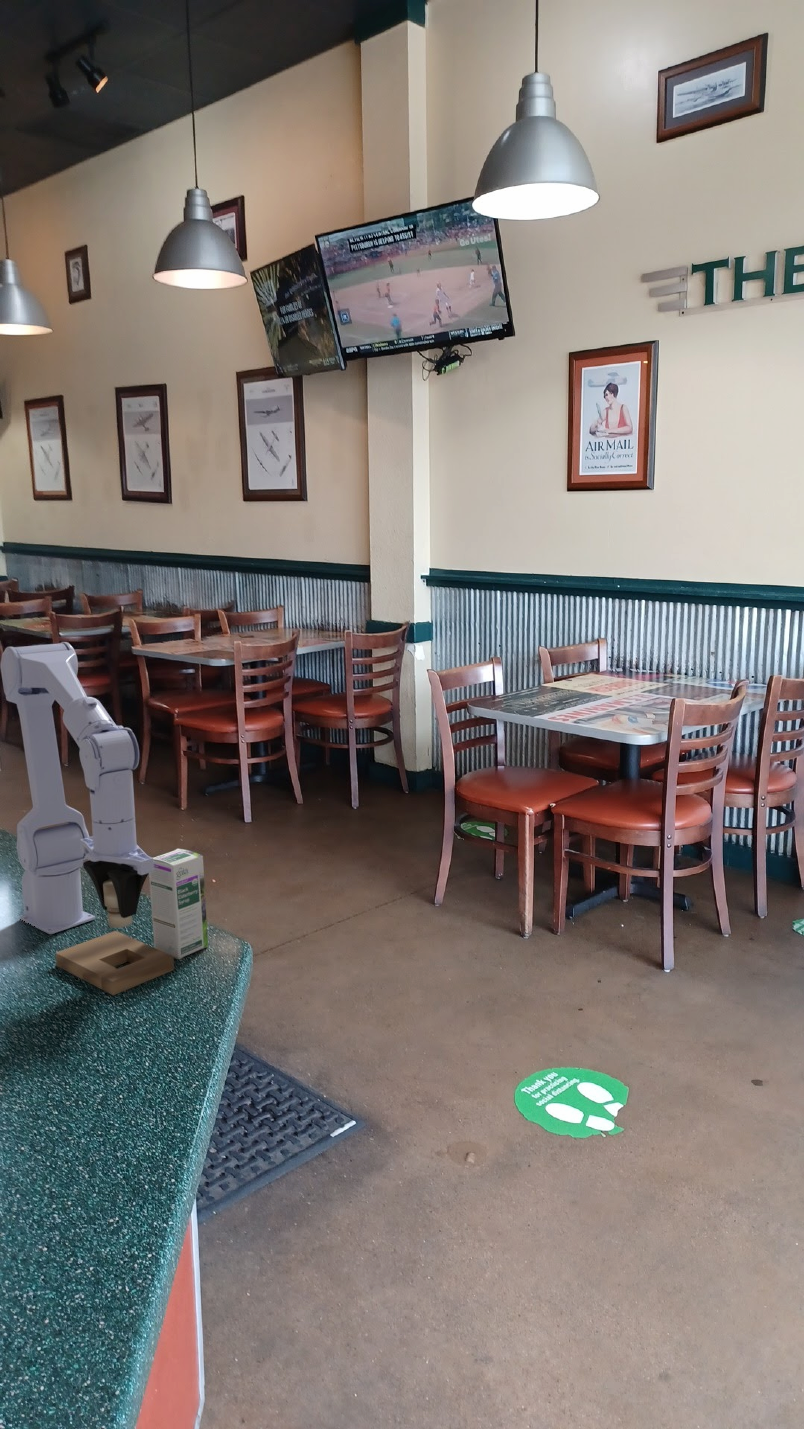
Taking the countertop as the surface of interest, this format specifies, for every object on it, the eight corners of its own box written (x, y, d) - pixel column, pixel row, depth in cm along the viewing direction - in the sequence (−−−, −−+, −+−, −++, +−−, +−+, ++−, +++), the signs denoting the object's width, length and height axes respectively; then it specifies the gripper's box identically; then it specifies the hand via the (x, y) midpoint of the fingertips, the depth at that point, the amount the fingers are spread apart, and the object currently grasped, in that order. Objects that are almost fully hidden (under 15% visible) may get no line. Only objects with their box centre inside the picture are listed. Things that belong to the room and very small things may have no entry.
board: (56, 965, 143) (55, 952, 143) (116, 943, 151) (115, 930, 151) (113, 995, 135) (112, 981, 134) (174, 969, 142) (173, 956, 142)
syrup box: (179, 960, 145) (174, 865, 142) (152, 950, 148) (147, 856, 146) (208, 947, 149) (204, 854, 147) (182, 937, 153) (177, 846, 150)
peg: (100, 924, 140) (97, 883, 139) (124, 915, 143) (121, 875, 141) (116, 930, 137) (113, 889, 136) (140, 922, 140) (137, 881, 139)
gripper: (58, 814, 139) (65, 907, 141) (119, 835, 129) (125, 934, 132) (102, 803, 144) (108, 892, 147) (164, 822, 135) (169, 917, 137)
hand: (119, 911), depth 140 cm, fingers closed on peg, 4 cm apart
